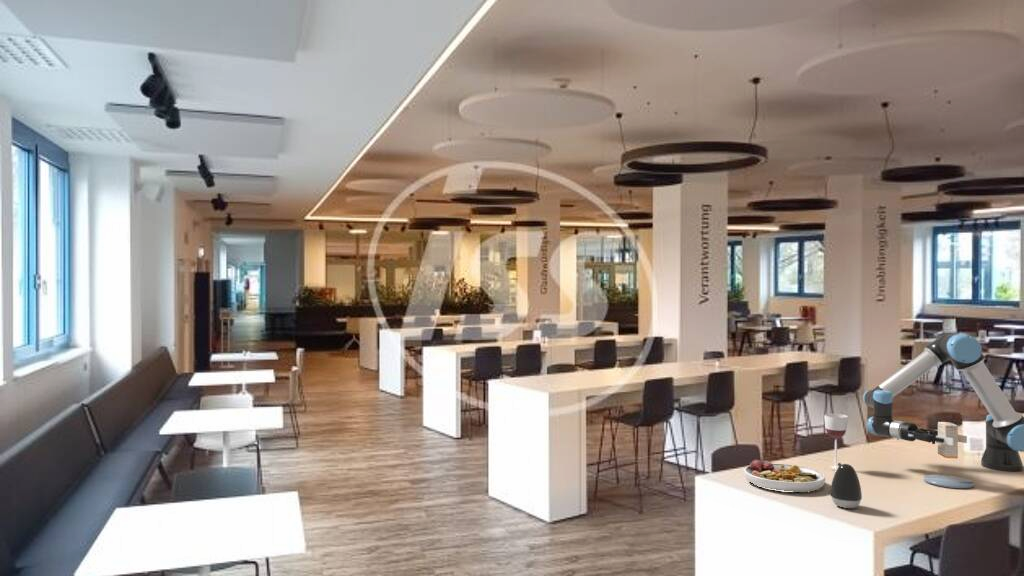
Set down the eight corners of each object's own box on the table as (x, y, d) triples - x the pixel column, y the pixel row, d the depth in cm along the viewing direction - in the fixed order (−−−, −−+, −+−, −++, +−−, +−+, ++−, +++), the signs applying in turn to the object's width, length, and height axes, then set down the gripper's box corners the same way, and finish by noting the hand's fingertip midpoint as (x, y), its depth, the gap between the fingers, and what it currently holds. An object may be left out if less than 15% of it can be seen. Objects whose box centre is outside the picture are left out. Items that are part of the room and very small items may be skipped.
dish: (939, 476, 300) (939, 472, 300) (982, 485, 286) (982, 482, 286) (914, 481, 292) (915, 477, 292) (958, 491, 277) (958, 487, 277)
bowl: (838, 485, 286) (838, 465, 286) (803, 500, 265) (803, 479, 265) (766, 471, 308) (766, 453, 308) (729, 484, 287) (729, 464, 287)
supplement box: (958, 458, 284) (958, 425, 284) (945, 458, 285) (945, 425, 285) (950, 454, 293) (950, 421, 293) (937, 453, 294) (937, 421, 294)
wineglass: (826, 471, 308) (826, 417, 308) (822, 465, 317) (822, 413, 318) (849, 472, 306) (850, 418, 306) (844, 466, 315) (845, 414, 315)
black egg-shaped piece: (852, 502, 262) (852, 460, 262) (867, 511, 252) (867, 467, 252) (824, 502, 262) (825, 460, 262) (838, 511, 252) (838, 467, 252)
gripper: (919, 437, 310) (974, 447, 290) (888, 442, 299) (944, 453, 280) (919, 419, 310) (974, 428, 290) (888, 424, 299) (944, 433, 280)
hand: (959, 440), depth 285 cm, fingers closed on supplement box, 9 cm apart
